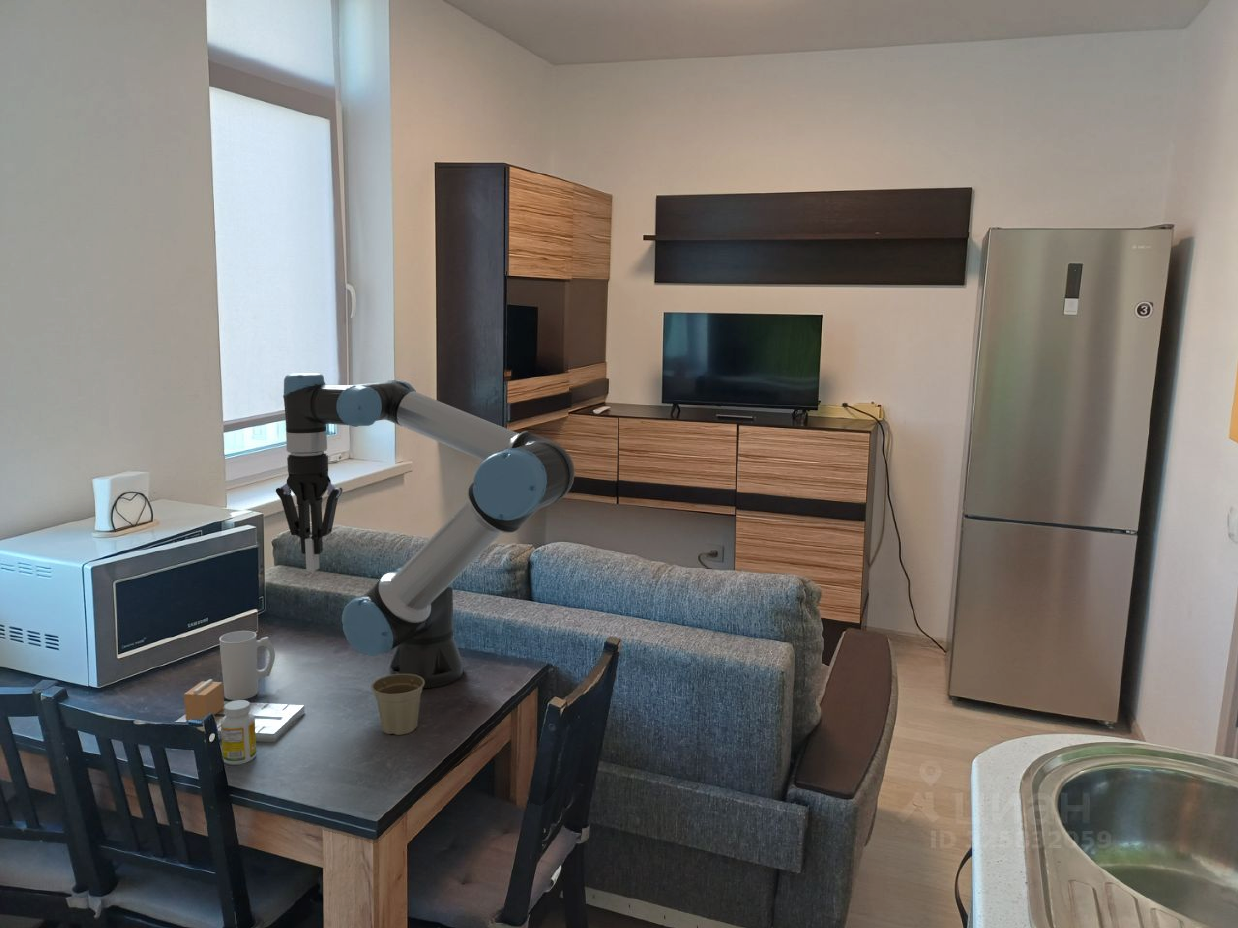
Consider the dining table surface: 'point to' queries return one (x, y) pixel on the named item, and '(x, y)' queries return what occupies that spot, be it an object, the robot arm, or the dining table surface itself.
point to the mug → (243, 663)
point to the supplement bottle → (238, 733)
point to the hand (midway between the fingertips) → (313, 569)
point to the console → (266, 719)
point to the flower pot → (398, 702)
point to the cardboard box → (204, 699)
